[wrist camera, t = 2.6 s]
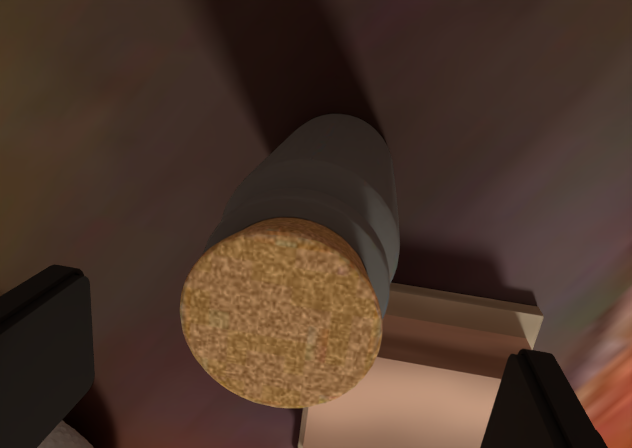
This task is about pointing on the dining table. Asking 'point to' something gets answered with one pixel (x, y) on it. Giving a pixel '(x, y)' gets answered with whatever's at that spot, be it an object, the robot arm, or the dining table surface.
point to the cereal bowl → (64, 438)
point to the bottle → (299, 269)
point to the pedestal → (427, 374)
